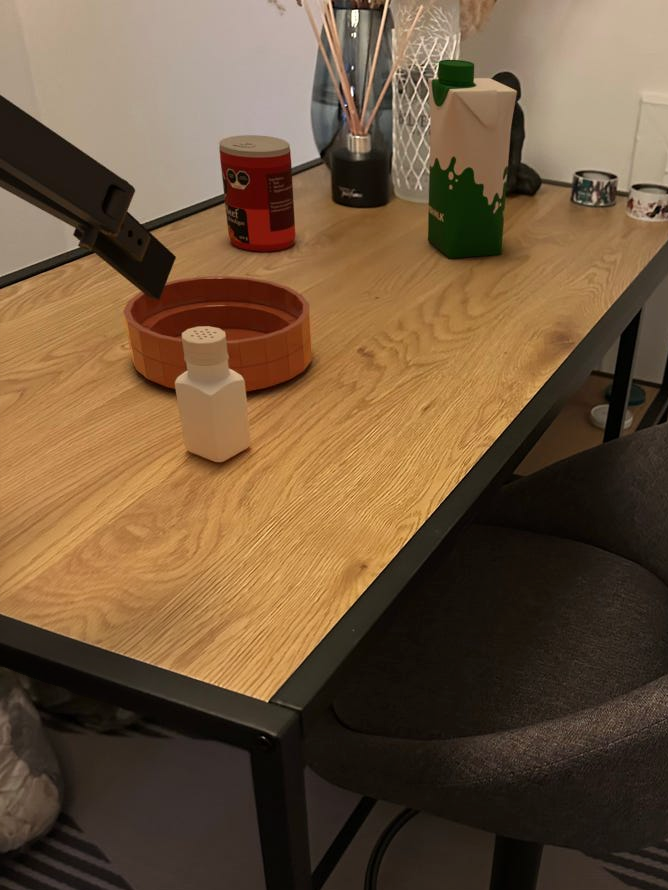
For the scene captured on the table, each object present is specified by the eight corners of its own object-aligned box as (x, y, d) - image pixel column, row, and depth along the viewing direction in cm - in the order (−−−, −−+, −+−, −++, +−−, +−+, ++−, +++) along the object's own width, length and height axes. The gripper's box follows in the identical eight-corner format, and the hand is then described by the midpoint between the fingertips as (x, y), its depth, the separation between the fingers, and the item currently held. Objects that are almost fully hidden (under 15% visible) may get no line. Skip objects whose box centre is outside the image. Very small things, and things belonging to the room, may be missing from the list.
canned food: (227, 233, 116) (216, 134, 109) (292, 231, 118) (286, 134, 111) (231, 253, 110) (220, 151, 103) (299, 251, 112) (293, 151, 105)
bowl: (94, 370, 84) (83, 316, 81) (209, 314, 96) (203, 264, 93) (243, 415, 80) (237, 359, 76) (344, 350, 91) (343, 298, 88)
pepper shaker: (181, 451, 74) (163, 335, 68) (217, 433, 77) (202, 319, 71) (220, 467, 73) (204, 349, 67) (254, 447, 76) (242, 332, 69)
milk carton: (418, 239, 119) (422, 55, 106) (483, 234, 122) (494, 55, 109) (444, 262, 113) (452, 70, 100) (512, 256, 116) (527, 69, 103)
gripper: (-537, 4, 39) (-103, 268, 59) (-107, 95, 32) (219, 360, 52) (-467, -158, 39) (-59, 159, 60) (-25, -104, 32) (267, 236, 52)
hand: (71, 253), depth 56 cm, fingers open, 13 cm apart
